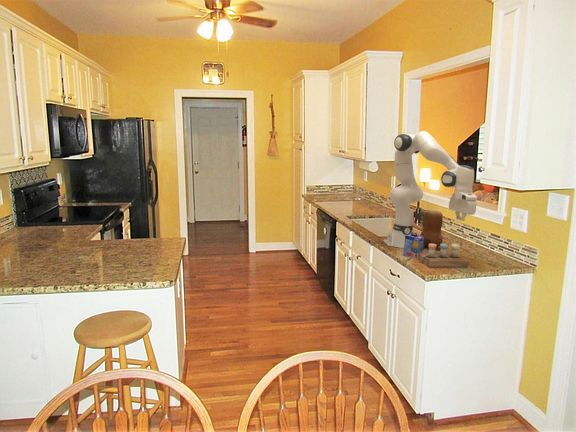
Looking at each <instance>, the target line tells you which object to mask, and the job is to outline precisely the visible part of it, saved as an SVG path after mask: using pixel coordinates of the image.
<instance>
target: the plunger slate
mask: <svg viewBox="0 0 576 432" xmlns="http://www.w3.org/2000/svg"><path fill="white" fill-rule="evenodd" d="M448 247H449V244H447V243H442V244H440V247H439V248H440V252H439V254H440V257H446V254H447V251H448Z"/></svg>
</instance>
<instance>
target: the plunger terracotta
mask: <svg viewBox="0 0 576 432" xmlns="http://www.w3.org/2000/svg"><path fill="white" fill-rule="evenodd" d="M436 249H437V248H436V244H432V243H430V244H429V248H428V253H427V254H428V257H434V256H435V254H436Z"/></svg>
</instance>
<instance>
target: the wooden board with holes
mask: <svg viewBox="0 0 576 432" xmlns="http://www.w3.org/2000/svg"><path fill="white" fill-rule="evenodd" d="M428 254H429V253H423V254H418V258H417V262H420V263H422V264H423V265H424V266H427V267H428V268H430V269H438V268H439V269H441V268H442V269H446V268H448V269H449V268H451V269H453V268H455V267H467V268H468V263H469V260H468V259H465V258H463V257H461V256H459V255H457V257H451V253H446V257H440V253H435V256H434V257H428Z"/></svg>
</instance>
